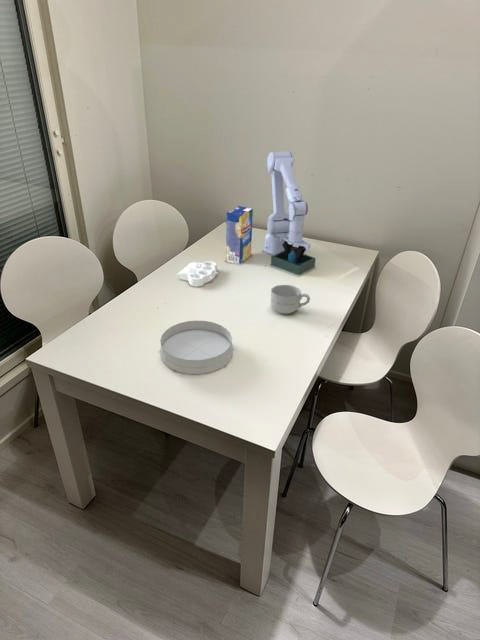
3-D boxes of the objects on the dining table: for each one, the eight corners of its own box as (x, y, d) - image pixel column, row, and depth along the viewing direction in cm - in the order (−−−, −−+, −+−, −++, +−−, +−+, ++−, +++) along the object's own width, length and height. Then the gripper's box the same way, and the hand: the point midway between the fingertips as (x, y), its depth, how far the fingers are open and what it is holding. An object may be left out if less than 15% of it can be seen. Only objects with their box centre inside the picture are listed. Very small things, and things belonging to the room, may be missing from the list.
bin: (270, 266, 198) (271, 256, 196) (287, 258, 206) (288, 248, 203) (298, 276, 190) (299, 266, 187) (314, 267, 198) (315, 257, 195)
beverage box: (250, 256, 207) (252, 208, 195) (239, 264, 198) (241, 215, 187) (237, 252, 209) (238, 205, 198) (226, 261, 201) (226, 212, 190)
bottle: (285, 265, 197) (286, 247, 193) (291, 262, 200) (293, 244, 196) (294, 268, 195) (295, 250, 190) (300, 265, 198) (302, 247, 193)
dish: (196, 325, 155) (195, 313, 152) (246, 350, 143) (247, 337, 140) (145, 354, 140) (144, 340, 137) (197, 384, 128) (197, 370, 125)
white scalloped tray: (193, 265, 197) (224, 271, 192) (173, 282, 182) (207, 289, 178) (193, 258, 195) (224, 263, 191) (173, 274, 180) (207, 281, 176)
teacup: (264, 312, 164) (266, 292, 159) (277, 299, 172) (278, 280, 168) (301, 322, 158) (303, 302, 154) (311, 309, 167) (314, 289, 162)
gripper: (276, 228, 191) (274, 258, 198) (304, 237, 183) (301, 268, 190) (286, 224, 195) (284, 253, 202) (314, 232, 187) (311, 263, 194)
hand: (293, 260), depth 196 cm, fingers closed on bottle, 4 cm apart
